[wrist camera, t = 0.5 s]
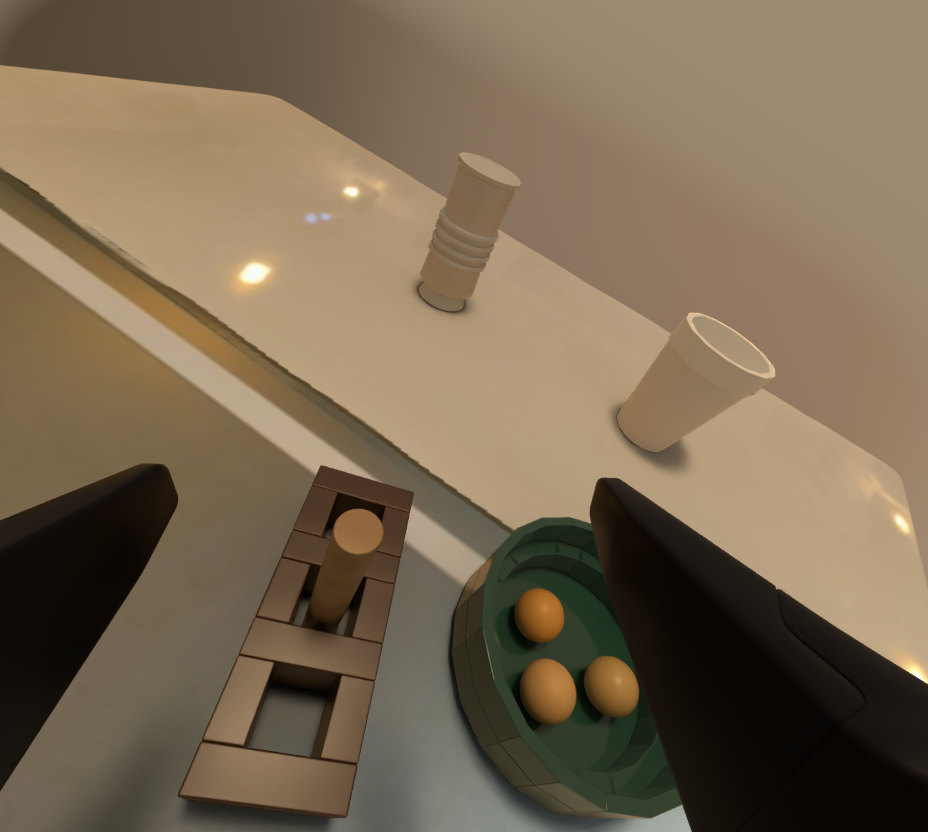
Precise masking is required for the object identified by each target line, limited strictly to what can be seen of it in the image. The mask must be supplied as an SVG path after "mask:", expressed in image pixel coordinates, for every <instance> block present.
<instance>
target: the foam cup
mask: <svg viewBox="0 0 928 832" xmlns="http://www.w3.org/2000/svg"><path fill="white" fill-rule="evenodd" d="M774 377H775V369H774V367H773V366H772V364H771V363H770V361H769V360H768V359H767V357H766V356H765V355H764V354H763V353H762V352H761V351H760V350H759V349H757V347H755V346H754V345H753V344H752V343H751V342H750V341H749V340H747V339H746V338H744V337H743V336H742V335H740V334H739V333H738V332H736V331H735V330H734V329H732V328H730V327H728V326H727V325H725V324H723V323H721V322H720V321H718V320H716V319H714V318H711V317H709V316H706V315H703V314H701V313H689V314H688V315H687V316H686V317H685V318H684V319H683V320H682V321H681V323H680V324H679V325H678V326H677V327H676V328H675V329H674V330H673V332H672V333H671V335H670V337H669V341H668V342H667V344H666V345H665V347H664V348H663V349H662V351H661V352H660V354H659V355H658V357H657V358H656V360H655V361H654V362H653V364H652V365H651V367H650V368H649V370H648V371H647V372H646V374H645V375H644V377H643V378H642V380H641V381H640V383H639V384H638V385H637V387H636V388H635V390H634V391H633V393H632V394H631V396H630V397H629V398H628V400H627V401H626V403H625V404H624V406H623V407H622V409H621V410H620V412H619V413H618V415H617V421H618V425H619V427H620V428H621V430H622V431H623V433H624V435H626V436H627V437H628V438H629V439H630V440H631V441H632V442H633V443H634V444H636V445H637V446H639V447H641V448H642V449H644V450H647V451H651V452H655V453H656V452H659V451H662V450H663V449H665V448H667V447H669V446H670V445H672V444H673V443H675V442H676V441H678V440H680V439H681V438H683V437H684V436H686V435H687V434H689V433H691V432H692V431H694V430H695V429H697V428H698V427H700V426H701V425H703V424H705V423H706V422H708V421H709V420H711V419H712V418H714V417H716V416H717V415H719V414H720V413H722V412H723V411H725V410H727V409H728V408H730V407H731V406H733V405H734V404H736V403H737V402H739V401H741V400H742V399H744V398H745V397H747V396H751V395H754V394H755V393H756V392H758V391H759V390H760V389H761V388H762V387H764V386H765V385H766V384H767V383H768V382H770V381H771V380H772V379H773V378H774Z"/></svg>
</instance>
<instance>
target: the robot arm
mask: <svg viewBox="0 0 928 832" xmlns="http://www.w3.org/2000/svg"><path fill="white" fill-rule="evenodd" d="M177 504H178V495H177V492H176V489H175V486H174V483H173V480H172V478H171V475H170V472H169V470H168V468H167V467H166V466H165V465H163V464H148V463H144V464H139V465H136V466H134V467H131V468H129V469H126V470H124V471H121V472H119V473H117V474H114V475H112V476H109V477H107V478H104V479H102V480H99V481H97V482H94V483H92V484H89V485H87V486H84V487H82V488H79V489H77V490H74V491H72V492H69V493H67V494H65V495H62V496H60V497H57V498H55V499H52V500H50V501H47V502H45V503H42V504H40V505H37V506H35V507H32V508H30V509H27V510H25V511H22V512H20V513H18V514H15V515H13V516H10V517H8V518H5V519H3V520H0V791H1V789H2V788H3V786H4V785H5V783H6V782H7V780H8V779H9V777H10V776H11V774H12V773H13V771H14V769H15V768H16V766H17V765H18V763H19V762H20V760H21V759H22V757H23V756H24V754H25V753H26V751H27V750H28V748H29V746H30V745H31V743H32V742H33V740H34V739H35V737H36V736H37V734H38V733H39V731H40V730H41V728H42V726H43V725H44V723H45V722H46V720H47V719H48V717H49V716H50V714H51V713H52V711H53V710H54V708H55V707H56V705H57V703H58V702H59V700H60V699H61V697H62V696H63V694H64V693H65V691H66V690H67V688H68V687H69V685H70V684H71V682H72V680H73V679H74V677H75V676H76V674H77V673H78V671H79V670H80V668H81V667H82V665H83V664H84V662H85V661H86V659H87V657H88V656H89V654H90V653H91V651H92V650H93V648H94V647H95V645H96V644H97V642H98V641H99V639H100V638H101V636H102V634H103V633H104V631H105V630H106V628H107V627H108V625H109V624H110V622H111V621H112V619H113V618H114V616H115V614H116V613H117V611H118V610H119V608H120V607H121V605H122V604H123V602H124V601H125V599H126V598H127V596H128V595H129V593H130V591H131V590H132V588H133V587H134V585H135V584H136V582H137V580H138V579H139V577H140V576H141V574H142V572H143V570H144V569H145V567H146V565H147V563H148V561H149V559H150V557H151V556H152V554H153V552H154V550H155V548H156V546H157V544H158V542H159V540H160V538H161V536H162V534H163V532H164V530H165V528H166V527H167V525H168V523H169V521H170V519H171V517H172V515H173V513H174V511H175V509H176V507H177ZM590 520H591V524H592V528H593V533H594V537H595V542H596V546H597V550H598V555H599V559H600V564H601V568H602V572H603V576H604V580H605V584H606V587H607V590H608V593H609V596H610V599H611V602H612V605H613V608H614V610H615V613H616V616H617V619H618V622H619V625H620V628H621V631H622V633H623V636H624V639H625V642H626V645H627V648H628V651H629V653H630V656H631V659H632V662H633V665H634V668H635V671H636V674H637V676H638V679H639V682H640V685H641V688H642V691H643V694H644V696H645V699H646V702H647V705H648V708H649V711H650V714H651V716H652V719H653V722H654V725H655V728H656V731H657V734H658V737H659V739H660V742H661V745H662V748H663V751H664V754H665V757H666V759H667V762H668V765H669V768H670V771H671V774H672V777H673V779H674V782H675V785H676V788H677V791H678V794H679V797H680V800H681V802H682V805H683V808H684V811H685V814H686V817H687V820H688V822H689V825H690V828H691V831H692V832H928V684H927V683H925V682H924V681H922V680H920V679H919V678H917V677H915V676H914V675H912V674H911V673H909V672H907V671H906V670H904V669H902V668H901V667H899V666H898V665H896V664H894V663H893V662H891V661H889V660H888V659H886V658H885V657H883V656H881V655H880V654H878V653H877V652H875V651H873V650H872V649H870V648H869V647H867V646H865V645H864V644H862V643H861V642H859V641H857V640H856V639H854V638H853V637H851V636H849V635H848V634H846V633H845V632H843V631H842V630H840V629H838V628H837V627H835V626H834V625H832V624H831V623H829V622H828V621H826V620H825V619H823V618H822V617H820V616H819V615H817V614H816V613H814V612H813V611H811V610H810V609H808V608H807V607H805V606H804V605H802V604H801V603H799V602H798V601H797V600H795V599H794V598H792V597H791V596H789V595H788V594H786V593H785V592H784V591H782V590H780V589H777V590H776V587H775V586H774V585H773V584H772V583H770V582H769V581H767V580H766V579H764V578H763V577H762V576H760V575H759V574H757V573H756V572H754V571H753V570H751V569H750V568H748V567H747V566H745V565H744V564H743V563H741V562H740V561H738V560H737V559H735V558H734V557H732V556H731V555H729V554H728V553H727V552H725V551H724V550H722V549H721V548H719V547H718V546H716V545H715V544H713V543H712V542H711V541H709V540H708V539H706V538H705V537H703V536H702V535H700V534H699V533H697V532H696V531H695V530H693V529H692V528H690V527H689V526H687V525H686V524H684V523H683V522H681V521H680V520H679V519H677V518H676V517H674V516H673V515H671V514H670V513H668V512H667V511H665V510H664V509H663V508H661V507H660V506H658V505H657V504H655V503H654V502H652V501H651V500H649V499H648V498H646V497H645V496H644V495H642V494H641V493H639V492H638V491H636V490H635V489H633V488H632V487H630V486H629V485H628V484H626V483H625V482H623V481H622V480H620V479H618V478H600V479H599V480H598V481H597V483H596V487H595V490H594V494H593V498H592V502H591V506H590Z"/></svg>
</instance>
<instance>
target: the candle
mask: <svg viewBox="0 0 928 832" xmlns="http://www.w3.org/2000/svg"><path fill="white" fill-rule="evenodd" d="M458 161H459V166H458V169H457V172H456V175H455V178H454V181H453V184H452V187H451V190H450V193H449V196H448V199H447V202H446V205H445V207H444V208H442V209H441V210H440V213H439V217H440V218H439V219H438V220H437V222H436V226H435V227H436V229H435V230H434V231H433V235H432V238H433V239H431V241H430V244H429V248H430V251H429V253H428V256H427V258H426V260H425V263H424V265H423V267H422V269H421V273H420V274H421V277H422V279H423V281H424V283H423V284H422V285H421V286H420V287H419V293H420V295H421V296H422V298H423V299H424V300H425V301H427V302H428V303H429V304H431V305H433V306H435V307H436V308H439V309H442V310H446V311H459V310H461V309H462V308H463V307H464V299H466V298H469V297H471V296H472V294H473V292H474V289H475V286H476V283H477V280H478V278H479V275H480V272H482V271H483V270H484V269H485V266H486V262H487V261H488V260H489V257H490V253H491V252H492V250H493V248H494V243H495V242H496V241H497V239H498V230H499V227H500V225H501V223H502V221H503V218H504V216H505V213H506V211H507V209H508V207H509V205H510V202H511V200H512V198H513V196H514V193H515V191H516V190H518V189H519V188H520V186H521V181H520V180H519V179H518V178H517V177H516V176H515V175H514V174H513V173H511V172H510V171H509V170H507V169H505V168H504V167H502V166H500V165H499V164H497V163H495V162H493V161H491V160H489V159H486V158H484V157H481V156H479V155H475V154H472V153H466V152H463V153H460V155H459V158H458Z"/></svg>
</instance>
